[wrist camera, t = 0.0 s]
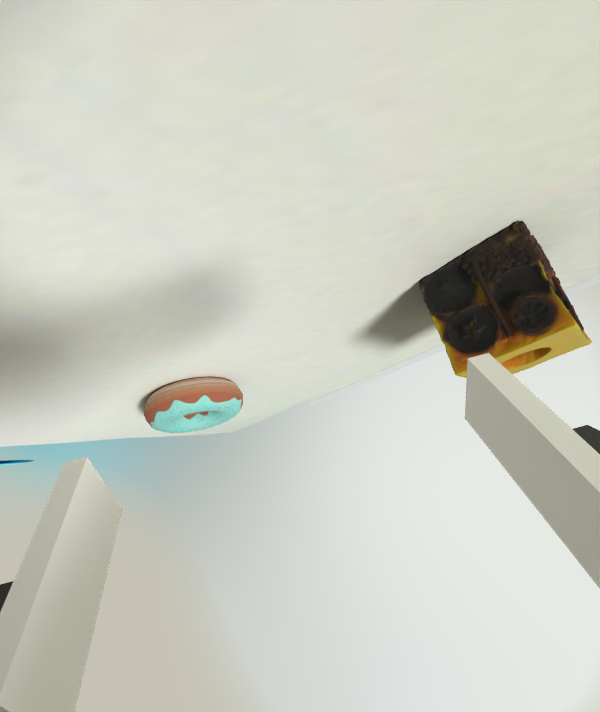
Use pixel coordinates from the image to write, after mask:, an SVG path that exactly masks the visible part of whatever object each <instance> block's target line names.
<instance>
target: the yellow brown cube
mask: <svg viewBox="0 0 600 712" xmlns="http://www.w3.org/2000/svg"><path fill="white" fill-rule="evenodd" d="M419 285H420V289H421V290H422V292H423V294H424V301H425V303H426V305H427V308H428V309H429V310H430V315H431V317H432V319H433V321H434V324H435V326H436V328H437V330H438V332H439V334H440V337H441V340H442V342H443V343H444V344H445V346H446V352H447V354H448V356H449V359H450V361H451V365H452V367H453V370H454V372H455V374H456V375H458V376H461V377H466V378H467V359H468V358H471V357H475V356H479V355H483V354H487V353H489V354H490V355H491V356H493V357H494V358H495V359H496V360H497V361H498V362H499V363H500V364H501V365H502V366H504V367H505V368H506V369H507V370H508V371H509V372H510V373H511V374H514V373H517V372H520V371H522V370H525V369H528V368H531V367H533V366H535V365H537V364H540V363H542V362H545V361H547V360H549V359H552V358H554V357H557V356H559V355H562V354H565V353H567V352H570V351H572V350H575V349H577V348H580V347H583V346H586V345H589V344H590V343H591V342H592V341H591V340H590V339H589V338H588V336H587V335H586V334H585V332H584V328H583V326H582V324H581V323H580V320H579V319H578V316H577V315H576V313H575V310H574V308H573V305H571V303H570V301H569V300H568V298H567V296H566V294H565V292H564V291H563V289H562V287H561V286H560V281H559V279H558V278H557V277H555V272H554V271H553V268H552V267H551V265H550V262H549V260H548V258H547V257H546V255H545V254H544V252H543V250H542V247H540V245H539V243H537V240H536V239H535V238H534V236H531V235H530V231H529V230H528V228H527V226H526V224H525V223H524V222H523V221H519V222H516V223H515V224H513V225H512V226H510V227H508V228H506V229H505V230H503V231H502V232H500V233H499V234H497V235H495V236H493V237H491V238H489V239H487V240H486V241H484V242H483V243H481V244H480V245H478V246H476V247H474V248H473V249H471V250H469V251H468V252H467V253H465V254H464V255H461V256H459V257H457V258H456V259H454V260H453V261H451V262H450V263H449V264H447V265H445V266H444V267H442V268H440V269H439V270H437V271H435V272H433V273H432V274H430V275H428V276H427V277H425V278H424V279H422V280H421V281H420V282H419Z"/></svg>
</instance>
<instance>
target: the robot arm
mask: <svg viewBox="0 0 600 712" xmlns="http://www.w3.org/2000/svg"><path fill="white" fill-rule="evenodd" d="M465 419H466V420H467V421H468V423H469V424H470V425H471V426H472V428H473V429H474V430H475V431H476V433H477V434H478V435H479V437H480V438H481V439H482V440H483V442H484V443H485V444H486V445H487V447H488V448H489V449H490V450H491V452H492V453H493V454H494V455H495V457H496V458H497V459H498V460H499V462H500V463H501V464H502V466H503V467H504V468H505V469H506V471H507V472H508V473H509V474H510V476H511V477H512V478H513V479H514V481H515V482H516V483H517V485H518V486H519V487H520V488H521V490H522V491H523V492H524V493H525V494H526V496H527V497H528V498H529V500H530V501H531V502H532V504H533V505H534V506H535V507H536V508H537V510H538V511H539V512H540V513H541V515H542V516H543V517H544V519H545V520H546V521H547V522H548V523H549V525H550V526H551V528H552V529H553V530H554V531H555V533H556V534H557V535H558V536H559V538H560V539H561V540H562V541H563V543H564V544H565V545H566V546H567V548H568V549H569V550H570V551H571V553H572V554H573V555H574V557H575V558H576V559H577V560H578V562H579V563H580V564H581V565H582V567H583V568H584V569H585V570H586V572H587V573H588V574H589V576H590V577H591V578H592V579H593V581H594V582H595V583H596V584H597V586H598V587H599V588H600V431H599V430H597V429H595V428H592V427H591V426H588V425H586V426H582V427H578V428H574V429H571V428H570V427H569V426H568V425H567V424H566V423H565V422H564V421H563V420H562V419H560V418H559V417H558V416H557V415H556V414H555V413H554V412H553V411H552V410H551V409H549V408H548V407H547V406H546V405H545V404H544V403H543V402H542V401H541V400H540V399H539V398H537V397H536V396H535V395H534V394H533V393H532V392H531V391H530V390H529V389H527V387H525V386H524V385H523V384H522V383H521V382H520V381H519V380H518V379H516V377H514V376H513V375H512V374H511V373H510V372H509V371H508V370H507V369H506V368H505V367H504V366H502V365H501V364H500V363H499V362H498V361H497V360H496V359H495V358H494V357H493V356H491V355H490V354H489V353H487V354H483V355H479V356H475V357H471V358H468V359H467V386H466V409H465ZM121 511H122V509H121V507H120V506H119V504H118V503H117V501H116V500H115V498H114V497H113V495H112V494H111V492H110V491H109V489H108V488H107V486H106V485H105V483H104V482H103V480H102V479H101V477H100V476H99V474H98V473H97V471H96V470H95V468H94V467H93V465H92V464H91V462H90V461H89V459H88V458H87V457H85V458H81V459H77V460H73V461H69V462H66V463H64V464H63V466H62V468H61V471H60V473H59V476H58V478H57V480H56V482H55V485H54V487H53V490H52V492H51V494H50V497H49V499H48V501H47V504H46V506H45V509H44V511H43V513H42V515H41V518H40V520H39V523H38V525H37V527H36V530H35V532H34V534H33V537H32V539H31V541H30V544H29V546H28V548H27V551H26V553H25V555H24V558H23V560H22V562H21V565H20V567H19V570H18V572H17V574H16V577H15V579H14V581H12V582H9V583H5V584H1V585H0V712H75V708H76V704H77V700H78V695H79V691H80V687H81V683H82V678H83V674H84V670H85V665H86V661H87V657H88V653H89V648H90V644H91V640H92V635H93V631H94V626H95V622H96V618H97V614H98V609H99V605H100V601H101V597H102V592H103V588H104V584H105V579H106V575H107V571H108V567H109V563H110V558H111V554H112V550H113V545H114V541H115V537H116V533H117V528H118V524H119V520H120V515H121Z"/></svg>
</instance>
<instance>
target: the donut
mask: <svg viewBox="0 0 600 712" xmlns="http://www.w3.org/2000/svg"><path fill="white" fill-rule="evenodd" d="M242 404H243V395H242V392H241V391H240V389H239V388H238V386H237V385H236V384H235V383H233V382H232V381H229V380H226V379H223V378H217V377H199V378H191V379H186V380H181V381H178V382H174V383H171V384H169V385H167V386H164V387H162V388H161V389H159V390H157V391H156V392H154V393H153V394H152V395H151V396H150V397H149V398H148V400H147V401H146V406H145V408H144V415H145V418H146V421H147V422H148V423H149V424H150V426H151V427H152V428H154V429H156V430H159V431H163V432H169V433H181V432H191V431H197V430H202V429H206V428H210V427H213V426H216V425H219V424H221V423H224V422H226V421H228V420H229V419H231V418H233V417H234V416H235V415H237V414H238V412H239V411H240V409H241V406H242Z"/></svg>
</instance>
